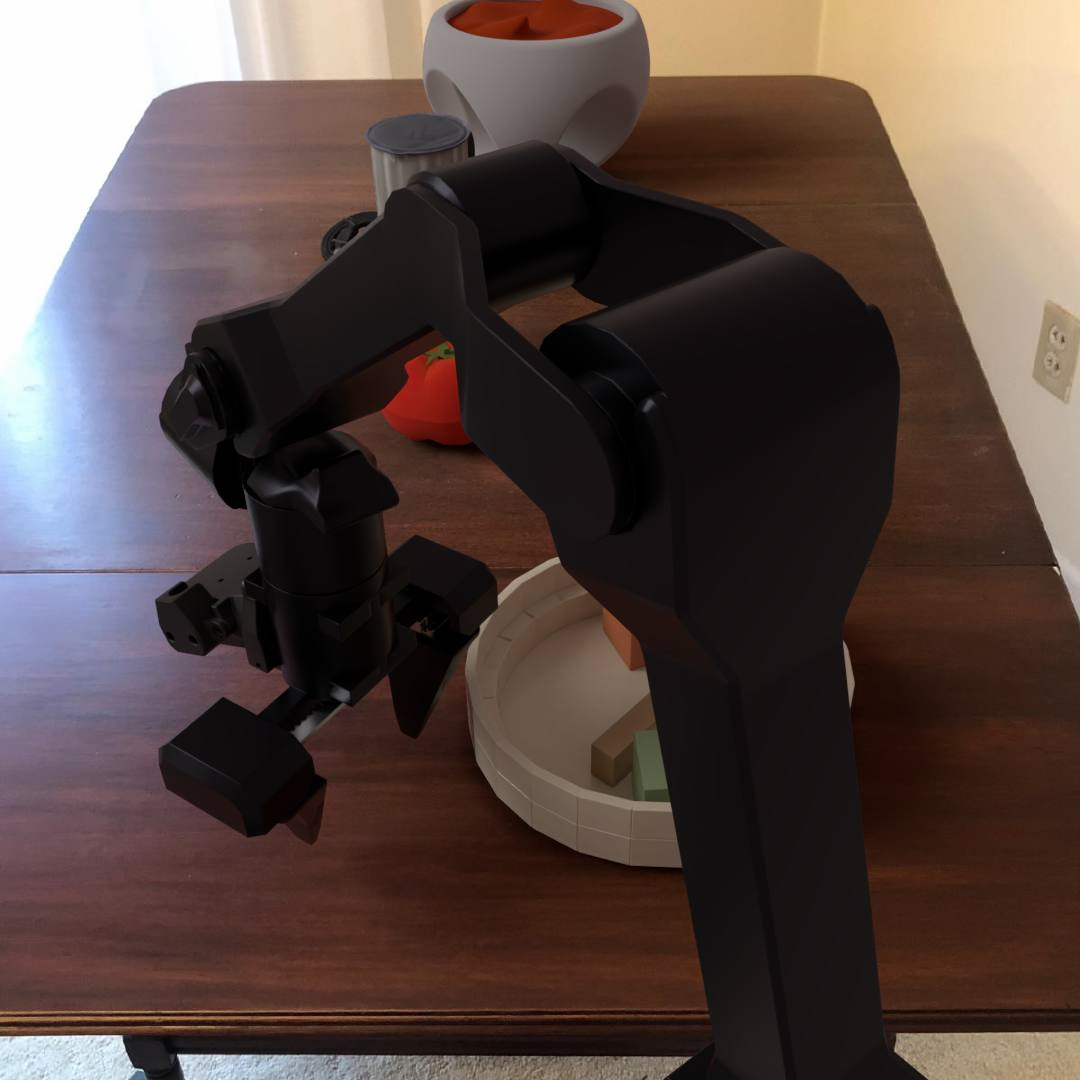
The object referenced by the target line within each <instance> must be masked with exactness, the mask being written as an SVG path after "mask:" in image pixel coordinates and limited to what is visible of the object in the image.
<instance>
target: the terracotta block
mask: <svg viewBox="0 0 1080 1080" xmlns="http://www.w3.org/2000/svg"><path fill="white" fill-rule="evenodd" d="M602 629H603V631H604V633H605V634H606V636H607V637H608V639H609V640H610V642H611V643H612V645H613V646H614V647H615V649H616V650H617V652H618V653H619V655H620V656H621V658H622V659H623V661H624V662H625V664H626V665H627V667H628V668H629V670H634V669H637V668H640V667H643V666H645V662H644V658H643V654H642V651H641V648H640V644H639V642H638V640H637V638H636V637H635V636H634V635H633V634H632V633H631V632H629V631H628V630H627V629H626V628H625V627H624V626H623V625H622V624H621V623H620V622H619V621H618V620H617V619H616V618H615V617H614V616H613V615H612V614H610V613H609V612H608V611H607V610H606V609H605V608H604V607H603V627H602Z"/></svg>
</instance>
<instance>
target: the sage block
mask: <svg viewBox="0 0 1080 1080" xmlns="http://www.w3.org/2000/svg"><path fill="white" fill-rule="evenodd" d="M632 787H633V793H634V799H635V801H646V802H670V798H669V793H668V787H667V782H666V776H665V771H664V765H663V760H662V754H661V749H660V744H659V738H658V733H657V730H646V731H634V739H633V760H632Z"/></svg>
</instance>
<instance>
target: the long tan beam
mask: <svg viewBox="0 0 1080 1080" xmlns="http://www.w3.org/2000/svg"><path fill="white" fill-rule="evenodd" d="M646 730H657V727H656V722H655V716H654V711H653V705H652V700H651V695H650V693H649V694H647V695H646V696H645V697H644V698H643V699H642V700H641V701H640V702H638V703H637V704H636V705H635V706H634V707H633V708H632V709H630V710H629V711H628V712H627V713H626V714H625V715H624V716H623V717H621V718H620V719H619V720H618V721H617V722H616V723H615V724H613V725H612V726H611V727H610V728H609V729H608V730H607V731H606V732H604V733H603V734H602V735H601V736H600V737H599V738H598V739H596V740H595V741H594V742H593V743H592V744H591V774H592V775H594V776H596V777H597V778H599V779H600V780H602V781H603V782H605V783H606V784H608V785H609V786H611V787H612V788H614V787H615V786H616V785H617V784H618V783H619V782H620V781H621V780H622V779H623V778H624V777H625V776H627V775H628V774H629V773H630V772H631V771H632V760H633V739H634V731H646Z"/></svg>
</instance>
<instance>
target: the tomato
mask: <svg viewBox="0 0 1080 1080" xmlns="http://www.w3.org/2000/svg"><path fill="white" fill-rule="evenodd" d="M405 368H406V371H407V373H408V376H409V378H408V381H407V383H406V385H405V386H404V387H403V388H402V389H401V390H400V392H399V393H398V394H397V395H396V396H395V397H394V398H393V400H392V401H391V402H390V403H389V404H388V405H387V406H386V407H385V408H384V409H383V410H381V411H380V412H381V414H382V415H383V416H384V417H385V419H386V420H387V422H388V423H389V424H390V426H391V427H392V429H393V430H394V431H396V432H397V433H399V434H400V435H402V436H403V437H406V438H407V439H409V440H411V441H414V442H420V441H428V440H430V441H433V442H436V443H438V444H441V445H443V446H447V445H448V446H464V445H467V444H471V443H474V442H473V441H472V440H471V439H470V438H469V437H468V436H467V435H466V433H465V431H464V429H463V427H462V424H461V414H460V404H459V394H458V384H457V374H456V365H455V355H454V347H453V346H452V344H451V343H450V342H448V341H447V342H445V343H443V344H441V345H439V346H437V347H435V348H433V349H431V350H430V351H428V352H426V353H424V354H422V355H420V356H418V357H416V358H415V359H413V360H411V361H409V362H407V363H406V364H405Z"/></svg>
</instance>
